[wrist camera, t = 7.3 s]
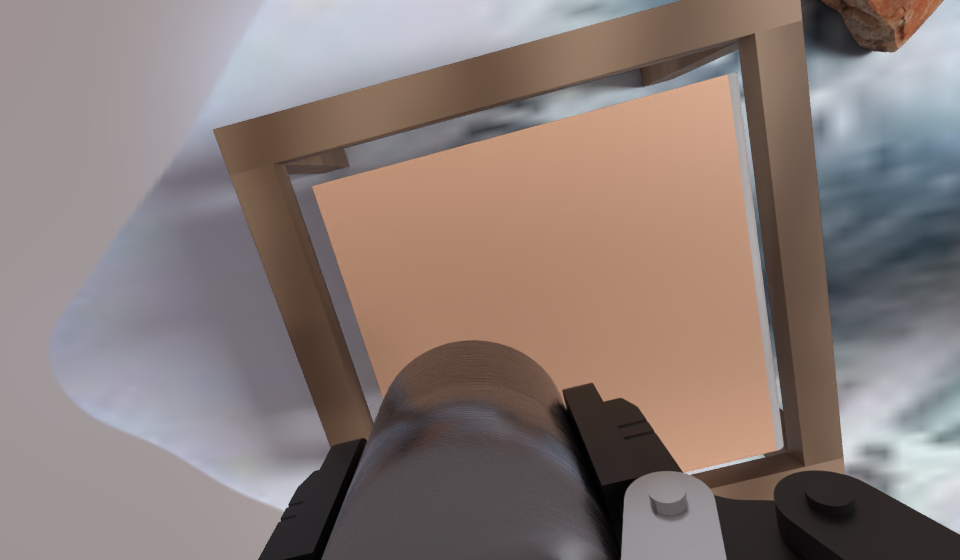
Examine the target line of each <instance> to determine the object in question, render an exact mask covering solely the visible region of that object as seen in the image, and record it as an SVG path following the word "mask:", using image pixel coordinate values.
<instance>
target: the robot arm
mask: <svg viewBox="0 0 960 560" xmlns="http://www.w3.org/2000/svg"><path fill="white" fill-rule="evenodd" d="M562 391H563V397H564V401H565V405H566V410H567V412H568V415H569V418H570V420H571V423H572V425H573V428H574V431H575V433H576V436H577V438H578V441H579V444H580V446H581V449H582V451H583V454H584V456H585V459H586V462H587V464H588V467H589V469H590V472H591V475H592V477H593V480H594V482H595V485H596V487H597V490H598V493H599V495H600V498H601V500H602V503H603V506H604V508H605V511H606V513H607V516H608V518H609V521H610V524H611V526H612V528H613V530H614V533H615V536H616V538H617V541H618V543H619V546H620V549H621V551H622V552H621V560H960V535H959V534H957V533H956V532H954V531H952V530H950V529H948V528H947V527H945V526H943V525H941V524H939V523H937V522H936V521H934V520H932V519H930V518H928V517H927V516H925V515H923V514H921V513H919V512H917V511H916V510H914V509H912V508H910V507H908V506H907V505H905V504H903V503H901V502H899V501H898V500H896V499H894V498H892V497H890V496H888V495H887V494H885V493H883V492H881V491H879V490H878V489H876V488H874V487H872V486H870V485H868V484H867V483H865V482H863V481H860V480H858V479H856V478H853V477H851V476H848V475H844V474H840V473H836V472H830V471H821V470H810V471H801V472H797V473H793V474H790V475H788V476H786V477H784V478H783V479H781V480H780V481H779V482H778V483H777V485H776V487H775V489H774V500H737V499H729V498H724V497H720V496H716V495H713V493H712V491H711V490H710V488H709V487H708V486H707V485H706V484H705V483H703V482H702V481H701V480H699V479H697V478H695V477H693V476H691V475H688V474H685V473H683V471H682V470H681V468H680V467H679V466H678V464H677V463H676V461H675V460H674V458H673V457H672V455H671V454H670V453H669V451H668V450H667V448H666V447H665V445H664V444H663V442H662V441H661V440H660V438H659V437H658V435H657V434H656V433H655V432H654V429H653V428H652V427H651V425H650V424H649V422H647V419H646V418H645V416H644V415H643V414H642V412H641V411H640V409H639V408H638V406H636V405H634V404H632V403H630V402H628V401H627V400H625V399H623V398H617V399H613V400H608V401H604V402H603V400H602V398H601V396H600V395H599V393H598V391H597V389H596V387H595V386H594V384H593V383H587V384H583V385H579V386H575V387H571V388H567V389H563V390H562ZM366 443H367V440H366V439H365V438H360V439H356V440H352V441H348V442H344V443H340V444H336V445H333V446H332V447H331V449H330V451H329V453H328V455H327V457H326V459H325V460H324V462H323V464H322V466H321V468H320V470H317V471H314V472H313V473H312V474H311V475H310V476H309V477H308V478H307V479H306V480H305V481H304V482H303V483H302V484H301V485H300V486H299V487H298V488H297V490H296V492H295V494H294V495H293V497H292V499H291V501H290V503H289V504H288V505H289V507H288V508H286V510H285V512H284V513H283V515H282V517H281V522H279V523H278V524H277V526H276V528H275V530H274V532H273V533H272V536H271V537H270V539H269V541H268V542H267V544H266V546H265V548H264V550H263V552H262V553H261V555H260V557H259V559H258V560H321V559H322V556H323V554H324V551H325V548H326V546H327V543H328V541H329V538H330V536H331V533H332V530H333V528H334V525H335V523H336V520H337V518H338V515H339V512H340V510H341V507H342V505H343V502H344V500H345V497H346V494H347V492H348V489H349V487H350V484H351V482H352V479H353V476H354V474H355V471H356V469H357V466H358V463H359V461H360V458H361V456H362V453H363V451H364V448H365V445H366Z"/></svg>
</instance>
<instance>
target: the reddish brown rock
mask: <svg viewBox="0 0 960 560" xmlns="http://www.w3.org/2000/svg"><path fill="white" fill-rule="evenodd" d="M821 1H822V2H823V3H825V4H826V5H827V6H829V7H831V8H833V9H835V10H836V11H838V12H839V13H840V14H841V15H842V18H843V20H844V23H845V26H846V27H847V29H848V30H849V31H850V33H851V35H852V36H853V38H854V39H855V41H856V42H857V44H858V45H859V46H861V47H862V48H865V49H870V50H873V51H879V52H891V53H892V52H895V51H897V50H898V49H899V48H900V47H901V46H902V45H903V44H904V43H905V42H906V41H907V40H908V39H909V38H910V37H911V36H912V35H913V34H914V33H915V32H916V31H917V30H918V29H919V28H920V27H921V25H922V24H923V23H924V22H925V21H926V20H927V18H928V17H929V16H930V15H931V14H932V13H933V12H934V11H935V10H936V9H937V7H938V6H939V5H940V4H941V3H942V2H943V0H821Z"/></svg>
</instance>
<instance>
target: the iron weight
mask: <svg viewBox="0 0 960 560" xmlns="http://www.w3.org/2000/svg"><path fill="white" fill-rule="evenodd" d="M621 552H622V551H621V549H620V546H619V543H618V541H617V538H616V536H615V533H614V530H613V528H612V526H611V524H610V521H609V518H608V516H607V513H606V511H605V508H604V506H603V503H602V500H601V498H600V495H599V493H598V490H597V487H596V485H595V482H594V480H593V477H592V475H591V472H590V469H589V467H588V464H587V462H586V459H585V456H584V454H583V451H582V449H581V446H580V444H579V441H578V438H577V436H576V433H575V431H574V428H573V425H572V423H571V420H570V418H569V415H568V412H567V410H566V407H565V404H564V402H563V399H562V397H561V394H560V392H559V390H558V388H557V386H556V384H555V383H554V381H553V380H552V379H551V377H550V376H549V375H548V373H547V372H546V371H545V370H544V369H543V368H542V367H541V366H540V365H539V364H538V363H536V362H535V361H534V360H533V359H531V358H530V357H528V356H527V355H525V354H524V353H522V352H520V351H518V350H516V349H514V348H511V347H509V346H506V345H502V344H499V343H494V342H489V341H479V340H467V341H457V342H452V343H447V344H444V345H441V346H438V347H435V348H433V349H431V350H429V351H427V352H424V353H423V354H421V355H420V356H418V357H417V358H415V359H414V360H412V361H411V362H410V363H409V364H408V365H406V366H405V367H404V368H403V369H402V370H401V371H400V373H399V374H398V375H397V376H396V377H395V379H394V380H393V382H392V383H391V385H390V386H389V388H388V390H387V392H386V394H385V397H384V399H383V402H382V404H381V407H380V409H379V412H378V415H377V417H376V420H375V422H374V425H373V427H372V430H371V433H370V435H369V438H368V440H367V443H366V445H365V448H364V451H363V453H362V456H361V458H360V461H359V463H358V466H357V469H356V471H355V474H354V476H353V479H352V482H351V484H350V487H349V489H348V492H347V494H346V497H345V500H344V502H343V505H342V507H341V510H340V512H339V515H338V518H337V520H336V523H335V525H334V528H333V530H332V533H331V536H330V538H329V541H328V543H327V546H326V548H325V551H324V554H323V556H322V559H321V560H621Z"/></svg>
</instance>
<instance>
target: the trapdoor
mask: <svg viewBox="0 0 960 560" xmlns="http://www.w3.org/2000/svg"><path fill="white" fill-rule="evenodd" d="M312 188H313V191H314V194H315V197H316V200H317V203H318V206H319V209H320V212H321V215H322V218H323V221H324V224H325V227H326V230H327V233H328V236H329V239H330V242H331V245H332V248H333V251H334V254H335V257H336V260H337V263H338V266H339V269H340V272H341V275H342V278H343V281H344V284H345V287H346V290H347V293H348V296H349V299H350V302H351V305H352V308H353V311H354V314H355V317H356V320H357V323H358V326H359V329H360V332H361V335H362V338H363V341H364V344H365V347H366V350H367V353H368V356H369V359H370V362H371V365H372V368H373V371H374V373H375V376H376V379H377V382H378V385H379V388H380V391H381V394H382V397H383V399H384V397H385V394H386V392H387V390H388V388H389V386H390V385H391V383H392V382H393V380H394V379H395V377H396V376H397V375H398V374H399V373H400V371H401V370H402V369H403V368H404V367H405V366H406V365H408V364H409V363H410V362H411V361H412V360H414V359H415V358H417V357H418V356H420V355H421V354H423V353H424V352H427V351H429V350H431V349H433V348H435V347H438V346H441V345H444V344H447V343H452V342H457V341H467V340H479V341H489V342H494V343H499V344H502V345H506V346H509V347H511V348H514V349H516V350H518V351H520V352H522V353H524V354H525V355H527V356H528V357H530V358H531V359H533V360H534V361H535V362H536V363H538V364H539V365H540V366H541V367H542V368H543V369H544V370H545V371H546V372H547V373H548V375H549V376H550V377H551V379H552V380H553V381H554V383H555V384H556V386H557V388H558V390H559V392H560V394H561V397H562V399H563V402H564V404H565V401H564V397H563V391H562V390H563V389H567V388H571V387H575V386H579V385H583V384H587V383H593V384H594V386H595V387H596V389H597V391H598V393H599V395H600V396H601V398H602V400H603V402H604V401H608V400H613V399H617V398H623V399H625V400H627V401H628V402H630V403H632V404H634V405H636V406H638V408H639V409H640V411H641V412H642V414H643V415H644V416H645V418H646V419H647V422H649V424H650V425H651V427H652V428H653V429H654V432H655V433H656V434H657V435H658V437H659V438H660V440H661V441H662V442H663V444H664V445H665V447H666V448H667V450H668V451H669V453H670V454H671V455H672V457H673V458H674V460H675V461H676V463H677V464H678V466H679V467H680V468H681V470H682V471H683V473H684V472H688V471H692V470H697V469H701V468H705V467H709V466H714V465H718V464H722V463H726V462H731V461H735V460H739V459H744V458H748V457H752V456H756V455H761V454H765V453H769V452H773V451H777V450H780V449H782V448H783V446H784V443H783V435H782V427H781V419H780V411H779V403H778V395H777V387H776V379H775V371H774V363H773V355H772V347H771V339H770V331H769V323H768V315H767V307H766V299H765V291H764V284H763V276H762V268H761V260H760V252H759V244H758V236H757V228H756V220H755V212H754V204H753V196H752V188H751V180H750V172H749V164H748V156H747V148H746V140H745V132H744V124H743V116H742V108H741V100H740V92H739V84H738V76H737V72H736V73H732V74H728V75H724V76H720V77H717V78H713V79H709V80H706V81H702V82H698V83H694V84H691V85H687V86H683V87H679V88H676V89H672V90H668V91H665V92H661V93H657V94H653V95H650V96H646V97H642V98H638V99H635V100H631V101H627V102H624V103H620V104H616V105H612V106H609V107H605V108H601V109H597V110H594V111H590V112H586V113H583V114H579V115H575V116H571V117H568V118H564V119H560V120H556V121H553V122H549V123H545V124H542V125H538V126H534V127H530V128H527V129H523V130H519V131H516V132H512V133H508V134H504V135H501V136H497V137H493V138H489V139H486V140H482V141H478V142H475V143H471V144H467V145H463V146H460V147H456V148H452V149H448V150H445V151H441V152H437V153H434V154H430V155H426V156H422V157H419V158H415V159H411V160H407V161H404V162H400V163H396V164H393V165H389V166H385V167H381V168H378V169H374V170H370V171H366V172H363V173H359V174H355V175H352V176H348V177H344V178H340V179H337V180H333V181H329V182H325V183H322V184H318V185H314V186H312ZM565 407H566V405H565Z"/></svg>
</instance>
